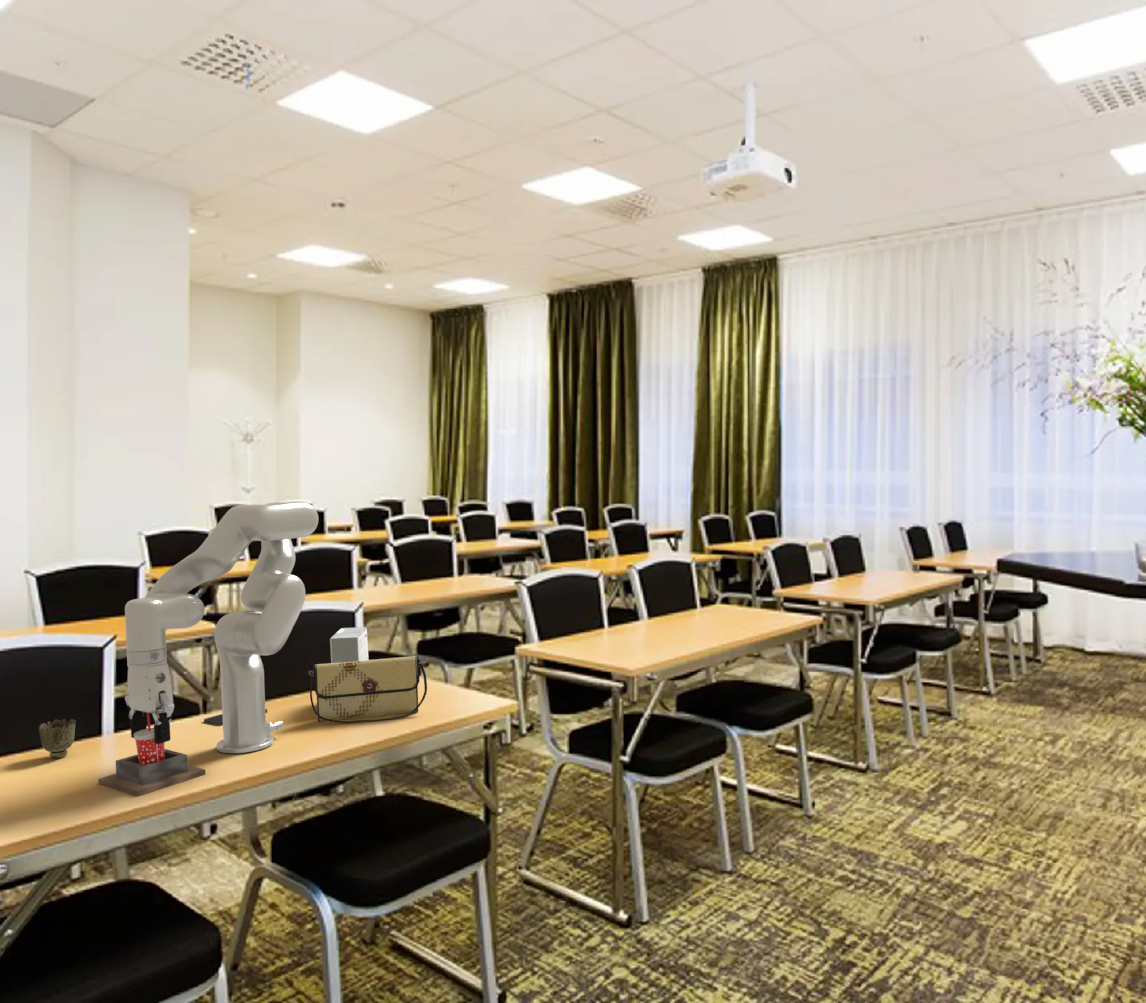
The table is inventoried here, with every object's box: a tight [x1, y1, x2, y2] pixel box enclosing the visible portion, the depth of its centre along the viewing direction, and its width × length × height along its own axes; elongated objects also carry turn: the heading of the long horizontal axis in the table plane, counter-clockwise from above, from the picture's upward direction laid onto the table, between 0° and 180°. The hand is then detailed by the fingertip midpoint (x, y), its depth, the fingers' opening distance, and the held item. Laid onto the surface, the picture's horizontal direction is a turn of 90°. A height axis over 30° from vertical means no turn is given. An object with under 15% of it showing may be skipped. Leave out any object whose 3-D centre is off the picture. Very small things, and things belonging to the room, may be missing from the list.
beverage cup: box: [133, 713, 166, 766], centre depth 189 cm, size 6×6×14 cm
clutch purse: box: [308, 655, 428, 724], centre depth 232 cm, size 30×7×15 cm, turn 106°
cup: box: [38, 718, 77, 760], centre depth 207 cm, size 8×7×8 cm
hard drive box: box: [329, 626, 370, 663], centre depth 248 cm, size 16×8×20 cm, turn 3°
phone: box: [203, 708, 268, 727], centre depth 237 cm, size 8×1×15 cm
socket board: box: [97, 748, 206, 797], centre depth 189 cm, size 15×15×4 cm
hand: (150, 738), depth 189 cm, fingers open, 8 cm apart
